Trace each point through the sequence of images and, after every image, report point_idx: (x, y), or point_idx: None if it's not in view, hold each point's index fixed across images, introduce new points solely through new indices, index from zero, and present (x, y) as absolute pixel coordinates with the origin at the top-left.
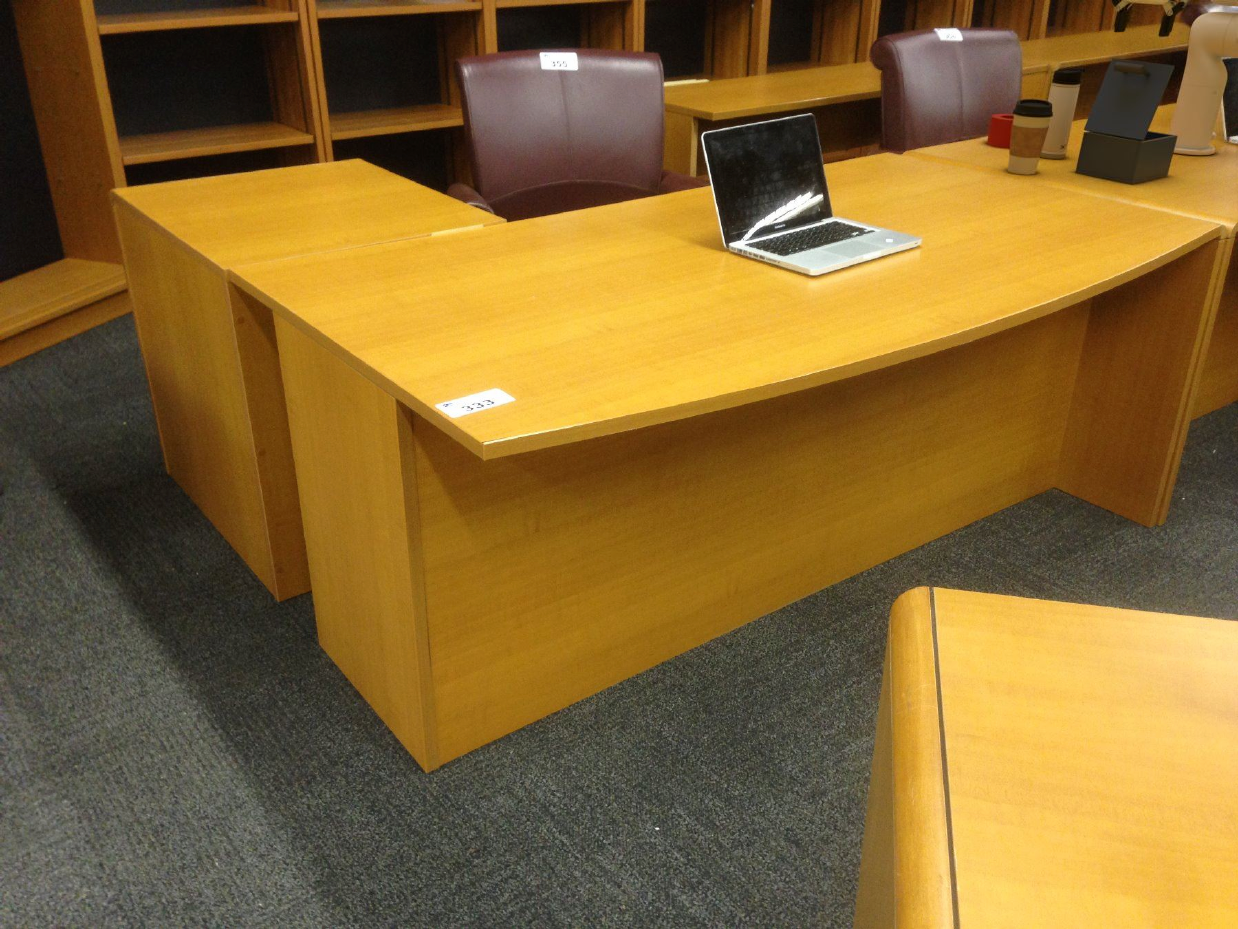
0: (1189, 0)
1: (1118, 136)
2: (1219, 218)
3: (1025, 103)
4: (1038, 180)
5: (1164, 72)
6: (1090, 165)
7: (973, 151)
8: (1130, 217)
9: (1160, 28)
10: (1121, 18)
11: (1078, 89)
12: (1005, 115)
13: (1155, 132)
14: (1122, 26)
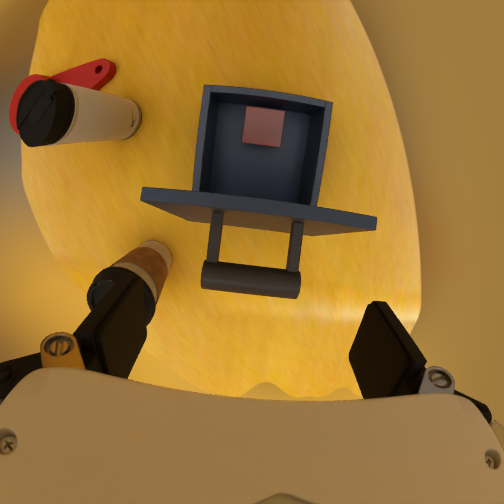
0: (497, 432)
1: (213, 97)
2: (414, 302)
3: (96, 296)
4: (198, 288)
5: (348, 228)
6: None
7: (51, 188)
8: (345, 360)
9: (358, 377)
10: (127, 370)
11: (82, 104)
12: (18, 101)
13: (288, 99)
14: (136, 319)
